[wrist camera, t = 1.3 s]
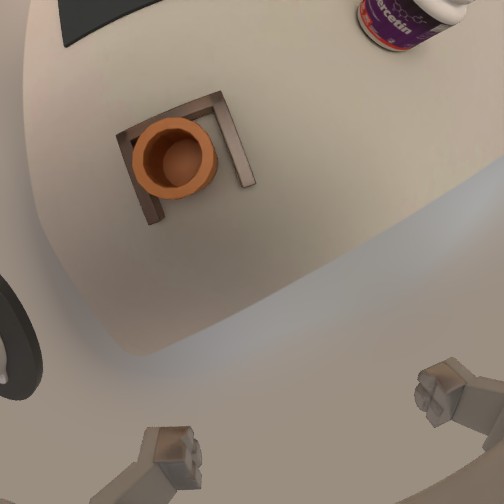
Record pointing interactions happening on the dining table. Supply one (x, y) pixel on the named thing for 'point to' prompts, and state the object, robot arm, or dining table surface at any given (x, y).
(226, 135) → the stand
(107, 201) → the dining table surface
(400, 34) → the pill bottle
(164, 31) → the dining table surface
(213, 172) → the jar
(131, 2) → the mat
